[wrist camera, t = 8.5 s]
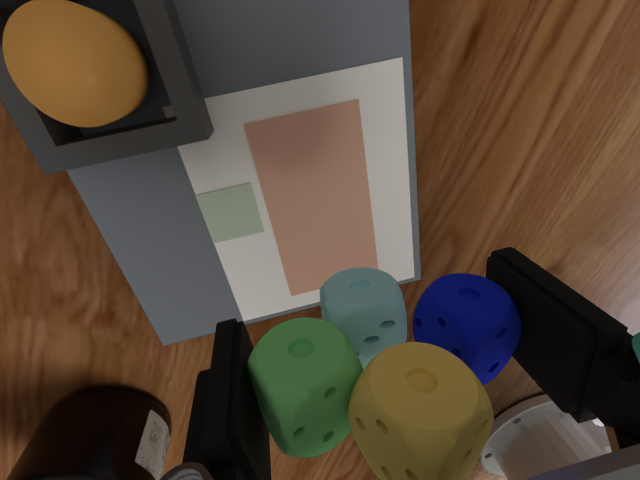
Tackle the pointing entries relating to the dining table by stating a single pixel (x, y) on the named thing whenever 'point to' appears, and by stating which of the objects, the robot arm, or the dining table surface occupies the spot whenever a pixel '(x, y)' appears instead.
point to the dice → (389, 373)
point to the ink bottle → (98, 439)
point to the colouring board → (247, 155)
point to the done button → (76, 62)
